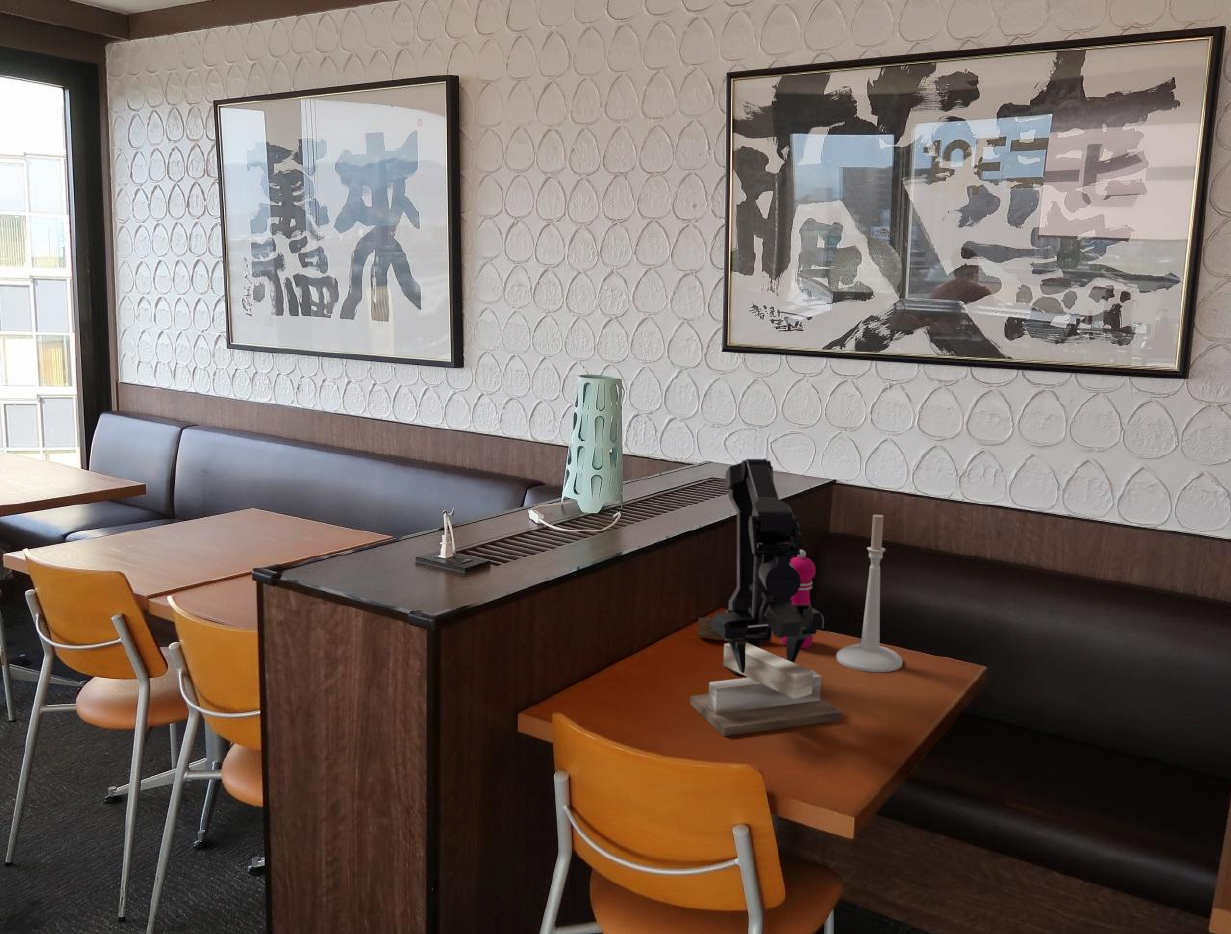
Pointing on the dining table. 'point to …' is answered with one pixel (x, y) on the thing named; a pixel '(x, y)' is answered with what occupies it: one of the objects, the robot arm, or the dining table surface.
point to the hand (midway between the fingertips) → (766, 669)
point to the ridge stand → (760, 707)
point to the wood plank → (709, 629)
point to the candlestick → (871, 619)
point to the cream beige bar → (772, 671)
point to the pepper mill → (803, 586)
